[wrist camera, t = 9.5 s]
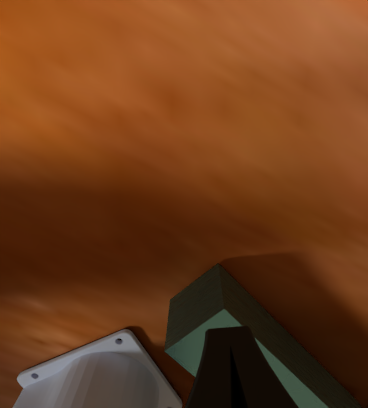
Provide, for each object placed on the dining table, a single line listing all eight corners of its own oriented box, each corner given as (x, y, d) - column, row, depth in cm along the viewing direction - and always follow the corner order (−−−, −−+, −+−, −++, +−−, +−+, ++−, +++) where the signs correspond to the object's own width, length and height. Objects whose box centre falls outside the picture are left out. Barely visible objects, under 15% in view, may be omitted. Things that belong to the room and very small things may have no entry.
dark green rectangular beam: (359, 402, 23) (396, 474, 19) (312, 427, 24) (337, 501, 20) (217, 262, 20) (224, 312, 15) (170, 298, 21) (164, 355, 16)
